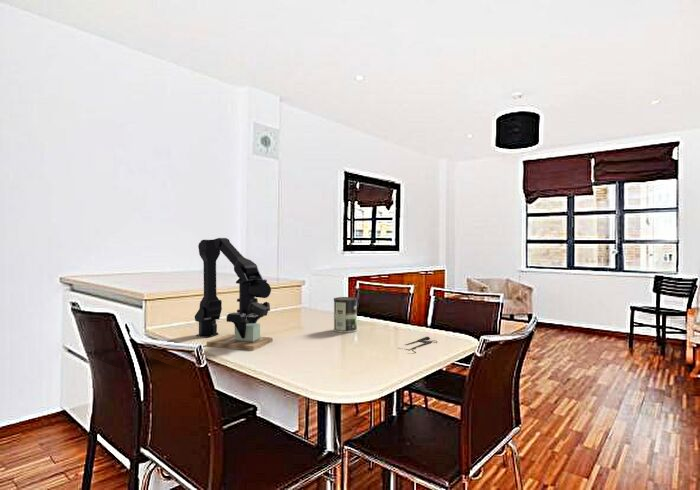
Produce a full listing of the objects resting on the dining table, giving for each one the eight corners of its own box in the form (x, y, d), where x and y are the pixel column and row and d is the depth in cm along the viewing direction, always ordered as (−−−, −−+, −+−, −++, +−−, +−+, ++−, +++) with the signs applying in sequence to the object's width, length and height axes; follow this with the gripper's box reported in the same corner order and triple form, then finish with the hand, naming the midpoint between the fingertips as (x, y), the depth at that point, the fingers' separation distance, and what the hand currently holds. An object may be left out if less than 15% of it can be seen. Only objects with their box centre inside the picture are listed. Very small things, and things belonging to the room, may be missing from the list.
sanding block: (234, 340, 162) (234, 324, 162) (242, 337, 167) (241, 322, 167) (253, 342, 159) (253, 326, 159) (260, 339, 164) (260, 323, 164)
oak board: (206, 345, 161) (206, 341, 161) (228, 337, 174) (228, 334, 174) (253, 350, 154) (253, 346, 154) (272, 341, 168) (272, 337, 167)
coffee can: (357, 327, 194) (357, 296, 193) (356, 332, 183) (356, 300, 183) (334, 327, 194) (334, 296, 194) (332, 332, 184) (332, 299, 183)
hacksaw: (426, 339, 174) (426, 335, 174) (448, 343, 167) (448, 340, 167) (388, 350, 157) (388, 346, 157) (411, 355, 149) (411, 351, 149)
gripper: (252, 300, 151) (252, 344, 152) (277, 293, 169) (277, 333, 169) (225, 298, 155) (225, 341, 155) (253, 292, 173) (253, 331, 173)
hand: (247, 336), depth 163 cm, fingers closed on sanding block, 5 cm apart
